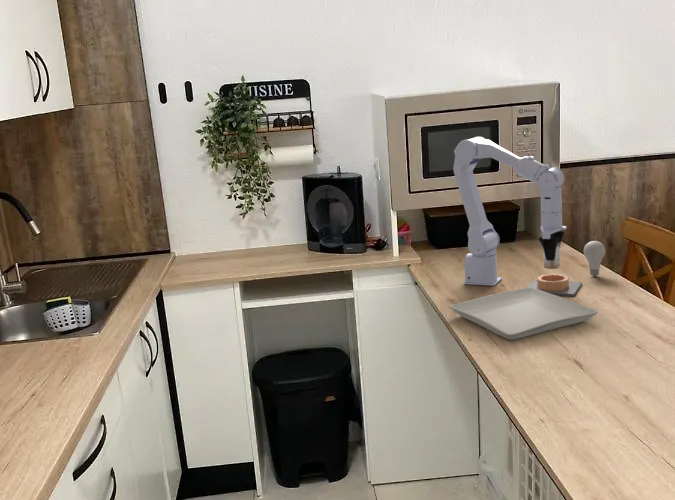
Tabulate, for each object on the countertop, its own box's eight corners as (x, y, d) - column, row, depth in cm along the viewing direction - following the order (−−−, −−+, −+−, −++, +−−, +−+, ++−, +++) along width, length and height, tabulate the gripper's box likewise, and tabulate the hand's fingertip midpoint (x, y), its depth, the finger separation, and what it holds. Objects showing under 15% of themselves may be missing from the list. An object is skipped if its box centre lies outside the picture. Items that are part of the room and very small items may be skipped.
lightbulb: (606, 279, 214) (606, 243, 212) (585, 279, 216) (584, 243, 213) (603, 273, 220) (603, 238, 218) (582, 274, 221) (582, 239, 219)
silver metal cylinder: (542, 268, 207) (541, 245, 205) (544, 264, 211) (543, 241, 210) (559, 269, 205) (559, 245, 203) (561, 265, 209) (560, 241, 208)
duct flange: (523, 293, 208) (523, 282, 207) (533, 281, 218) (533, 271, 217) (573, 296, 201) (573, 285, 200) (582, 284, 211) (581, 273, 210)
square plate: (447, 318, 194) (446, 304, 193) (530, 298, 204) (530, 285, 203) (509, 348, 170) (508, 332, 169) (600, 324, 180) (600, 309, 179)
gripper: (560, 216, 196) (561, 265, 199) (571, 206, 209) (571, 252, 212) (534, 216, 200) (535, 263, 203) (546, 206, 212) (547, 251, 215)
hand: (552, 257), depth 207 cm, fingers closed on silver metal cylinder, 4 cm apart
